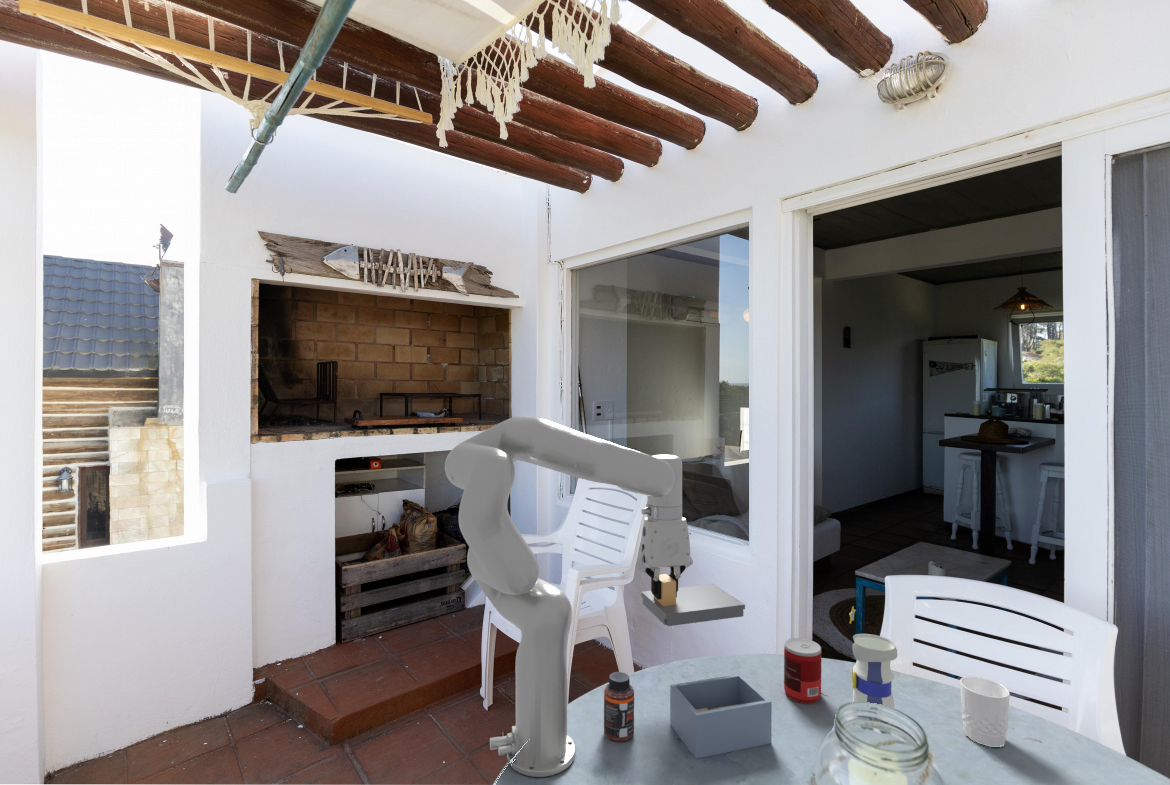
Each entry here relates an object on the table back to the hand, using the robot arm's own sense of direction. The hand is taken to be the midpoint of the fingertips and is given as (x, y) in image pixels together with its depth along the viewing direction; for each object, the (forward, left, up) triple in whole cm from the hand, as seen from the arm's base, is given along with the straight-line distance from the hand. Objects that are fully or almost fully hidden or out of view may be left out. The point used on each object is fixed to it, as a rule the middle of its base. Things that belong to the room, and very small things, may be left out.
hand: (664, 595), depth 122 cm
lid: (+6, 0, -4) cm, 7 cm away
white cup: (+54, -30, -23) cm, 66 cm away
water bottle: (+32, -25, -23) cm, 47 cm away
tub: (+5, -14, -23) cm, 27 cm away
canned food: (+30, -7, -23) cm, 39 cm away
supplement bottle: (-14, -9, -23) cm, 28 cm away
